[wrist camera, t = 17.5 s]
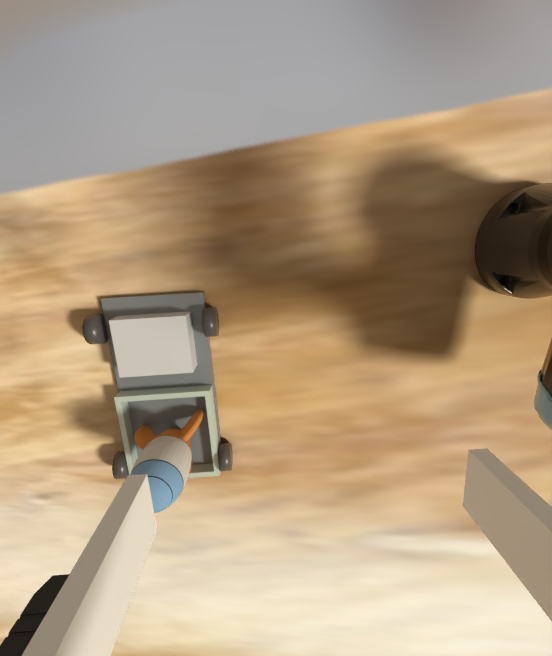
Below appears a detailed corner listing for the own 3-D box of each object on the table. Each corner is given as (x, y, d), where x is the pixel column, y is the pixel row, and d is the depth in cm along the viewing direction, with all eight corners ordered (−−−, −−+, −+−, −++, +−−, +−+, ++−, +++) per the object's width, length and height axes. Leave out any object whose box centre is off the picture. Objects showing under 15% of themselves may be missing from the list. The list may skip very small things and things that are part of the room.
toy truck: (215, 290, 46) (211, 295, 42) (233, 462, 53) (231, 479, 49) (92, 298, 45) (76, 303, 41) (126, 469, 52) (115, 487, 48)
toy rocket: (206, 461, 52) (159, 551, 38) (145, 439, 53) (77, 519, 39) (219, 411, 49) (173, 490, 35) (154, 387, 49) (83, 456, 35)
